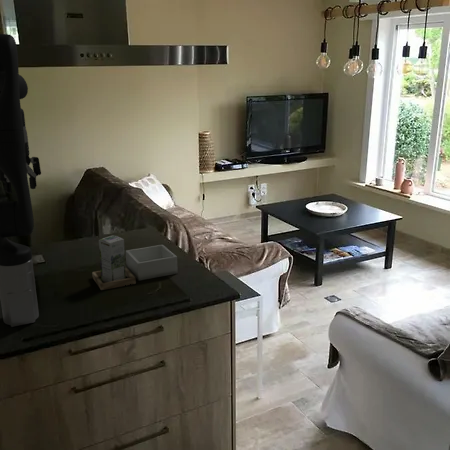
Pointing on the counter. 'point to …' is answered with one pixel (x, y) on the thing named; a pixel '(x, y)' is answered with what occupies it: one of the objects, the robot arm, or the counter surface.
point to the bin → (151, 262)
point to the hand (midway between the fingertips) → (21, 190)
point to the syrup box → (112, 258)
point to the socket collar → (114, 284)
